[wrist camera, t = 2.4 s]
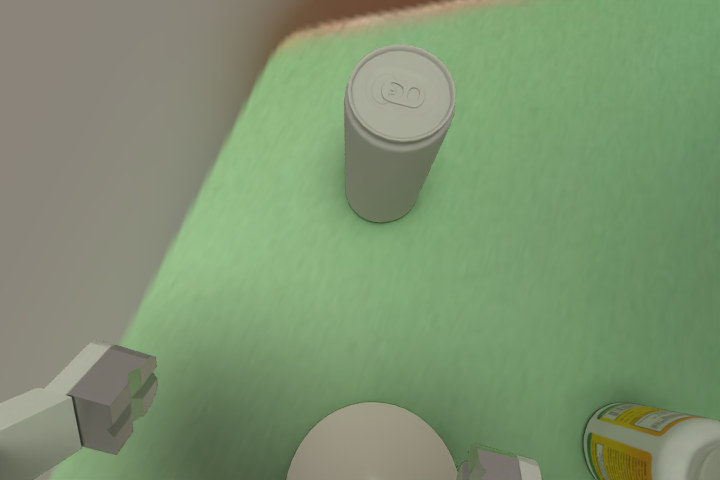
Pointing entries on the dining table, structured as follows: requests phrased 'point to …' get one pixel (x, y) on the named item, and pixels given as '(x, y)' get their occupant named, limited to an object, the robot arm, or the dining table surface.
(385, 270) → the dining table surface
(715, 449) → the supplement bottle
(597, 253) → the dining table surface
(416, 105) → the beverage can
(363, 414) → the white domed disc
